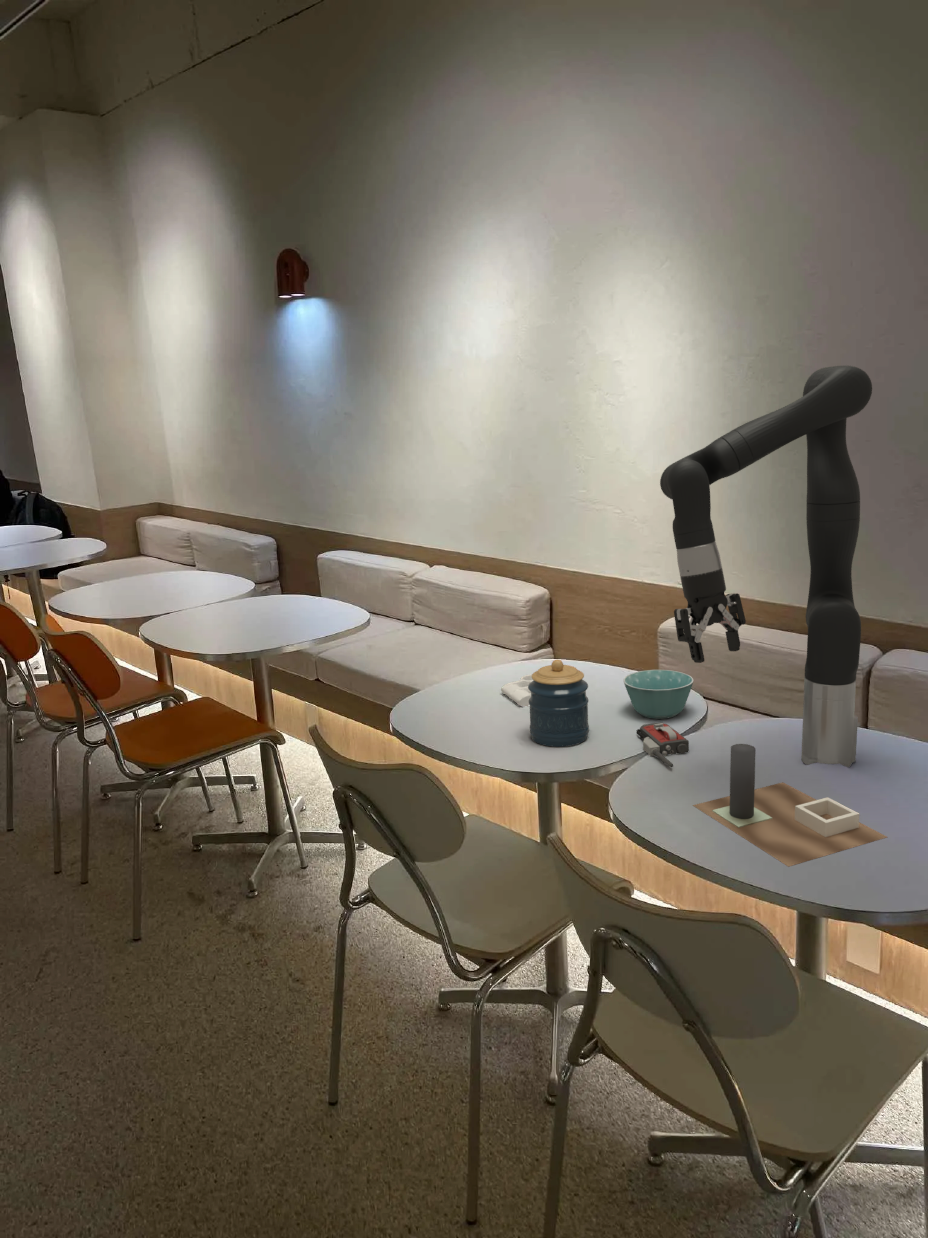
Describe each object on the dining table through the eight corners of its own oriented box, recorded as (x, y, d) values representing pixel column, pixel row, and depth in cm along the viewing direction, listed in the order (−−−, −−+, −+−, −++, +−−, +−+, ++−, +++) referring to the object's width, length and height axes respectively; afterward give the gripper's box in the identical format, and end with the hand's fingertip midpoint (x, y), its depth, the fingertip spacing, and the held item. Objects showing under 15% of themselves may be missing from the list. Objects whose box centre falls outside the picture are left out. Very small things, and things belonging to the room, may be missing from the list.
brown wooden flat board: (782, 789, 166) (783, 781, 166) (887, 845, 144) (887, 836, 144) (692, 813, 159) (692, 804, 158) (788, 875, 137) (788, 865, 137)
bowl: (610, 715, 209) (609, 681, 207) (649, 697, 220) (649, 665, 218) (668, 730, 198) (668, 694, 196) (706, 710, 209) (706, 676, 207)
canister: (551, 752, 189) (548, 672, 185) (518, 734, 200) (515, 658, 196) (601, 739, 195) (599, 661, 191) (567, 722, 206) (565, 648, 202)
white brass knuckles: (496, 692, 231) (548, 683, 235) (524, 713, 214) (579, 703, 219) (496, 679, 230) (548, 671, 235) (524, 700, 214) (579, 690, 218)
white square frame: (827, 810, 154) (827, 797, 153) (858, 827, 147) (859, 813, 147) (794, 819, 151) (795, 806, 151) (825, 837, 145) (826, 823, 144)
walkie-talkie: (627, 738, 196) (666, 773, 177) (627, 718, 195) (666, 752, 176) (664, 732, 197) (707, 767, 178) (664, 713, 196) (707, 746, 177)
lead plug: (743, 806, 156) (744, 742, 154) (758, 816, 153) (760, 750, 150) (724, 811, 155) (725, 746, 152) (739, 821, 151) (741, 754, 149)
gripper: (684, 577, 157) (701, 667, 158) (744, 560, 163) (760, 647, 164) (656, 579, 163) (673, 665, 165) (715, 563, 169) (731, 646, 171)
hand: (717, 656), depth 165 cm, fingers open, 8 cm apart
